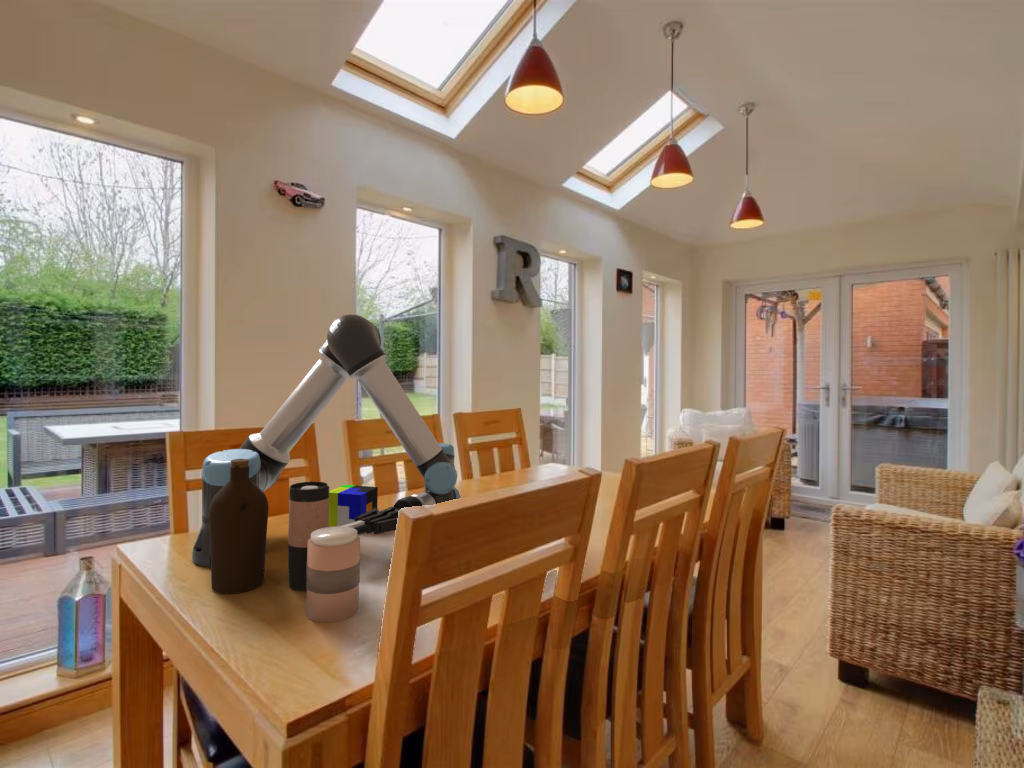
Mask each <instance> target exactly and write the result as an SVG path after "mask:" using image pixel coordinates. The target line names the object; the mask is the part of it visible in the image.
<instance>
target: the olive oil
mask: <svg viewBox="0 0 1024 768" xmlns="http://www.w3.org/2000/svg"><path fill="white" fill-rule="evenodd" d="M248 463H249V460H248V459H234V460H231V467H230V480H229V481H228V482H227V483H226V484H225V485H224V487H223V488H222V489H221V490H220V491H219V492H218V493H217V494H216V495H215V496H214V497H213V499H212V501H211V504H210V507H209V529H210V550H211V557H210V565H211V567H210V572H211V573H210V577H211V579H210V581H211V589H212V591H213V592H215V593H218V594H227V595H228V594H230V595H231V594H233V595H234V594H240V593H246V592H249V591H252V590H255V589H257V588H258V587H260V586H261V585H262V584H263V583H264V582H265V571H266V570H265V568H266V554H265V552H266V540H267V535H268V534H267V533H268V521H269V507H270V506H269V501H268V498H267V496H266V494H265V491H264V492H263V491H262V490H261V489H260V488H259V487H258V486H257V485H255V484H254V483H253V482H252V481H251V480H250V478H249V466H248ZM266 553H267V552H266Z"/></svg>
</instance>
